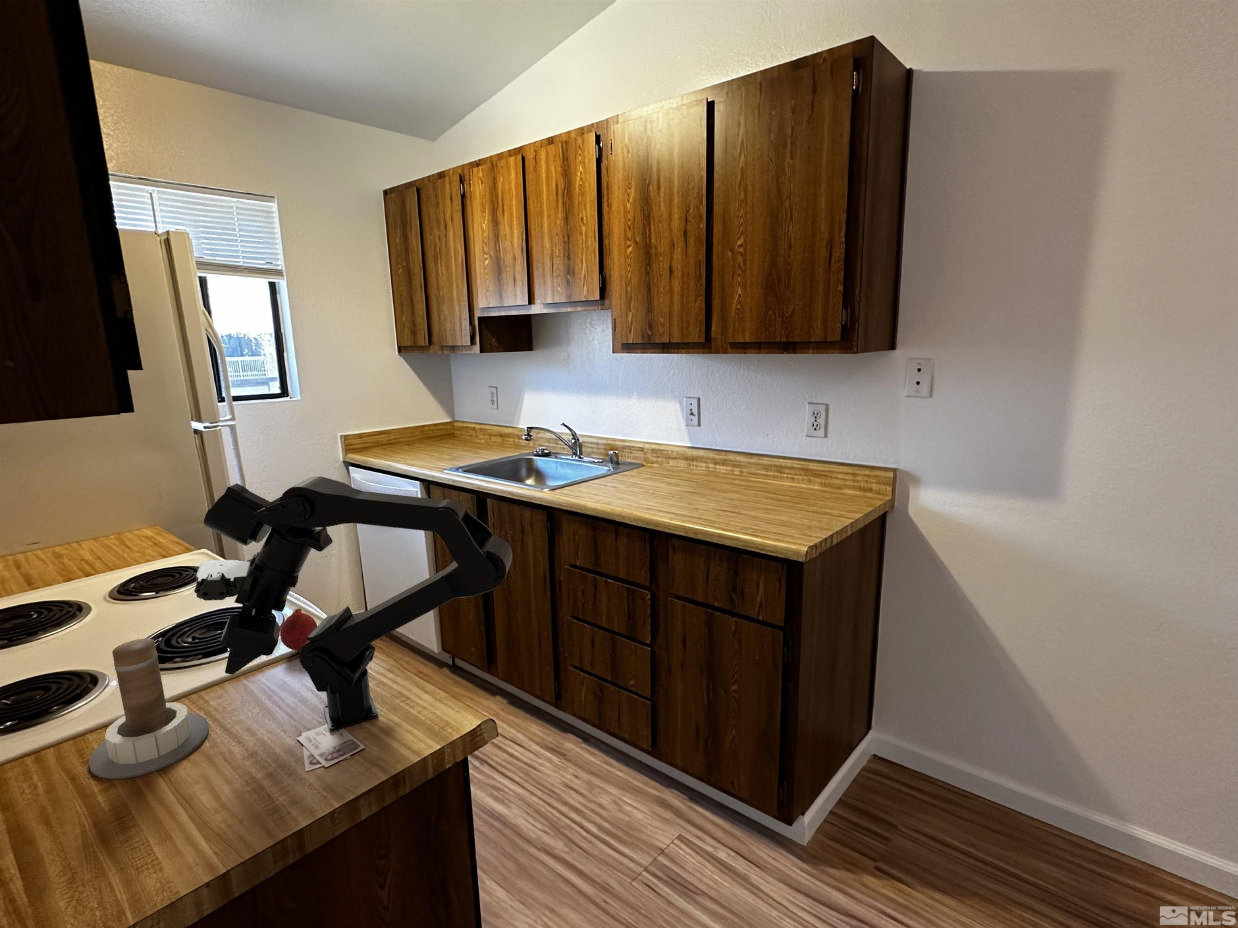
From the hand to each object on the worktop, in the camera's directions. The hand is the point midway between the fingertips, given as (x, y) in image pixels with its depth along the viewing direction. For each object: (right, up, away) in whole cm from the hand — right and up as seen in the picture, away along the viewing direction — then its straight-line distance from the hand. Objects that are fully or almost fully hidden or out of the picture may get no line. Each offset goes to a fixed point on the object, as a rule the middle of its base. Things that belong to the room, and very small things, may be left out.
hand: (234, 651), depth 89 cm
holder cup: (-9, -11, -4) cm, 15 cm away
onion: (-1, -6, +21) cm, 22 cm away
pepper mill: (-9, -11, -4) cm, 15 cm away
